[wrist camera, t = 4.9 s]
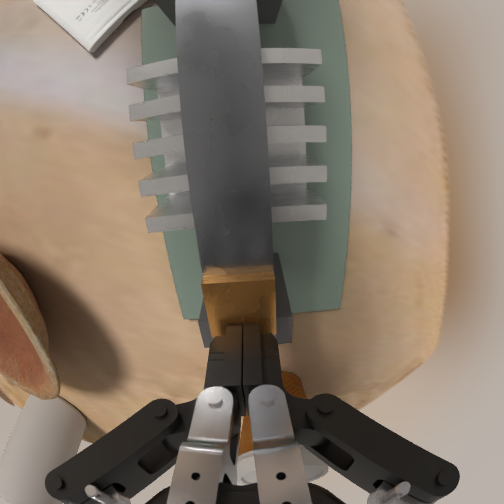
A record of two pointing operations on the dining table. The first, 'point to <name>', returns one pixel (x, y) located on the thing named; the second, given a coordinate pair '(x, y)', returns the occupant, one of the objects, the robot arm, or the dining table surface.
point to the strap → (227, 159)
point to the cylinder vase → (39, 449)
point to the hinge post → (266, 9)
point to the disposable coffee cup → (245, 454)
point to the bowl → (24, 337)
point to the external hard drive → (89, 17)
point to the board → (329, 153)
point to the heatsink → (278, 134)
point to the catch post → (282, 310)
